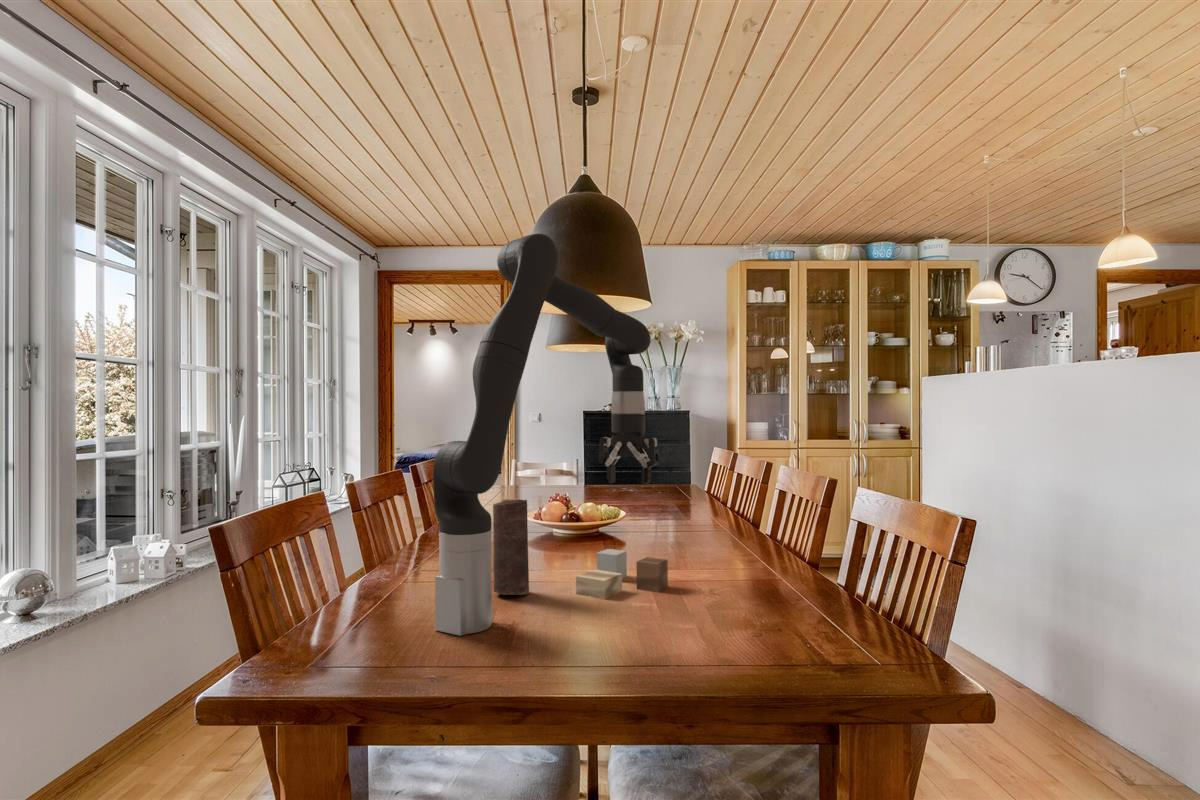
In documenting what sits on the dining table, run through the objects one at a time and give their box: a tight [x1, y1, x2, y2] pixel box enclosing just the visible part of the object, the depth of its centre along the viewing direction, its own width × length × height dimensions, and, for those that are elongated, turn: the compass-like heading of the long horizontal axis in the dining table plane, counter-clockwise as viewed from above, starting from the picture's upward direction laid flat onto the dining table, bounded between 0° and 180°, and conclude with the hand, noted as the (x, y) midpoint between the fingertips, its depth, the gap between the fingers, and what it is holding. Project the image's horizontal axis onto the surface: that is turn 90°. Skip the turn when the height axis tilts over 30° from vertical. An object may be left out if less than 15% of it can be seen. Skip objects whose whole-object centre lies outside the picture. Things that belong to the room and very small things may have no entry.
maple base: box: [575, 569, 623, 600], centre depth 141 cm, size 7×7×4 cm
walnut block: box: [636, 556, 669, 593], centre depth 144 cm, size 5×5×6 cm
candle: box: [492, 499, 530, 596], centre depth 139 cm, size 8×7×20 cm
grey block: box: [596, 548, 628, 580], centre depth 153 cm, size 5×5×6 cm
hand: (628, 483), depth 150 cm, fingers open, 8 cm apart
